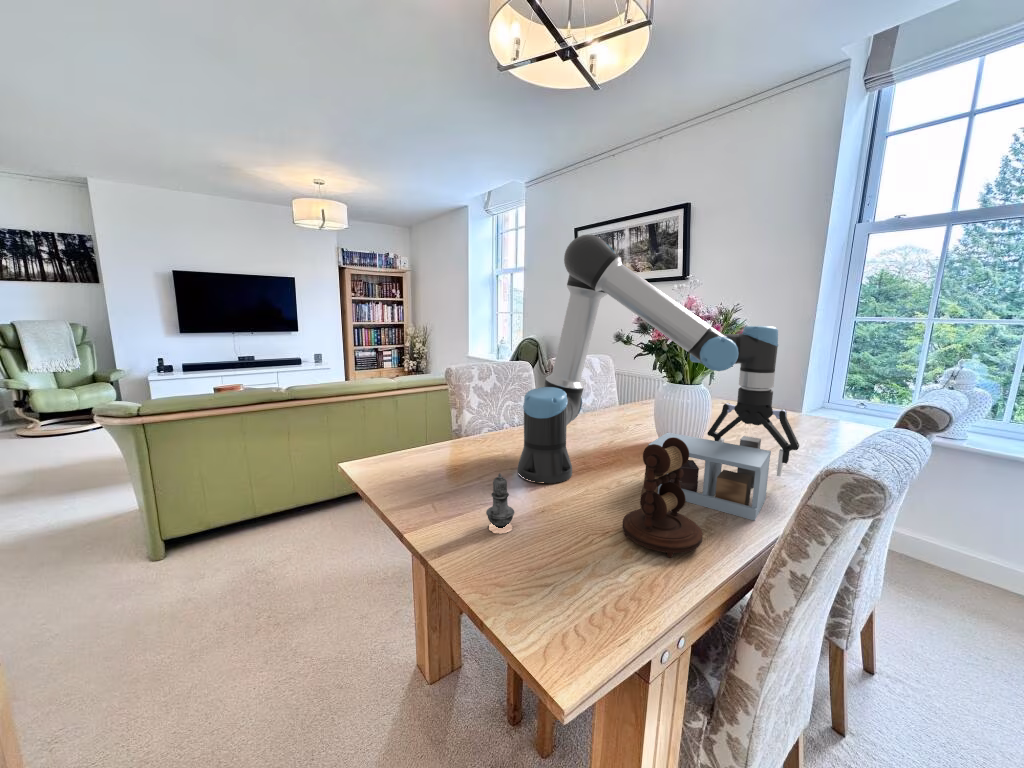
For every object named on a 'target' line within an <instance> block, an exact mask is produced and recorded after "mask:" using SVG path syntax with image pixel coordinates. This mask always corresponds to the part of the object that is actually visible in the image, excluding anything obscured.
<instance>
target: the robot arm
mask: <svg viewBox="0 0 1024 768" xmlns="http://www.w3.org/2000/svg"><path fill="white" fill-rule="evenodd" d="M563 262H564V263H563V264H564V267H565V270H566V272H567V273H568V280H567V283H566V288H567V289H568V291H569V293H570V294H569V299H568V303H567V307H566V311H565V316H564V321H563V324H562V329H561V332H560V338H559V342H558V347H557V351H556V354H555V359H554V363H553V369H552V372H551V374H549V375H547V376H546V377H545V381H544V385H543V386H541V387H538V388H532V389H530V390H529V391H527V392H526V394H524V398H523V405H522V408H523V448H522V451H521V455H520V457H519V461H518V463H517V474H518V473H519V474H520V475H521V476H522V477H524V478H525V479H528V480H531V481H535V482H544V483H554V484H557V483H556V482H560V483H563V482H566V481H568V480H570V478H572V476H573V465H572V462H571V459H570V455H569V453H568V449H567V428H568V427H567V426H568V425H569V424H570V423H572V421H574V420H575V419H576V418H577V417H578V416H579V414H580V412H581V409H582V407H583V398H582V396H583V392H584V390H585V389H584V388H585V386H584V384H583V382H582V380H581V378H582V374H583V371H584V367H585V363H586V358H587V355H588V350H589V348H590V347H589V346H590V341H591V339H592V334H593V331H594V326H595V321H596V317H597V314H598V311H599V306H600V301H601V300H602V299H603V298H604V297H606V296H607V295H609V296H610V297H611V298H612V299H614V300H615V301H616V302H618V303H620V304H621V305H622V306H623V307H625V308H626V309H627V310H629V311H630V312H631V313H634V314H635V315H636V316H637V317H638V318H640V319H642V321H645V323H647V324H649V325H650V326H651V327H653V328H655V330H657V331H658V332H660V333H661V334H663V336H666V337H667V338H668V339H669V340H670V341H672V342H674V343H675V344H677V345H678V347H681V348H682V349H683V350H685V351H686V352H687V353H689V360H690V361H691V362H692V363H700V364H702V365H703V366H704V367H705V368H707V369H708V370H710V371H715V372H723V371H726V370H728V369H731V368H733V366H734V365H735V364H737V365H738V364H739V365H740V367H739V377H738V378H739V379H738V385H739V386H740V387H739V388H738V390H737V402H736V405H735V404H731V403H730V402H726V403H724V404H723V405H722V409H721V413H720V414H719V416H717V418H716V420H715V421H714V422H713V424H712V425H711V427H710V428H709V430H708V431H707V433H706V434H707V435H708V436H709V437H712V438H713V439H714V441H718V442H724V443H725V437H723V436H725V434H728V432H729V431H730V430H732V429H733V428H735V426H737V425H738V424H739V423H740V422H741V423H742V422H743V423H744V424H746V425H754V426H761V425H762V426H763V427H764V429H766V430H767V432H768V433H769V434H770V436H771V437H772V438H773V439H774V441H776V443H777V444H778V446H780V449H779V450H778V452H779V453H778V459H777V461H778V462H777V469H776V476H777V477H781V476H782V473H783V466H784V465H783V464H788V462H789V458H790V452H791V451H797V450H799V448H800V444H799V441H798V439H797V437H796V435H795V432H794V431H793V427H791V424H790V423H789V420H788V415H787V412H788V411H787V410H786V409H784V408H783V409H774V408H773V399H774V398H773V397H774V391H773V390H772V389H773V388H774V386H775V375H776V367H777V366H776V365H777V354H778V347H779V329H778V328H777V327H775V326H772V325H746V326H744V327H743V331H742V333H736V334H734V333H722V332H721V331H719V330H717V329H715V328H714V327H712V326H711V325H710V324H709V323H707V322H706V321H704V320H703V319H701V318H700V317H699V316H697V315H695V314H694V313H693V312H692V311H690V310H689V309H687V308H686V307H684V306H683V305H682V304H681V303H678V302H677V301H676V300H674V299H673V298H672V297H670V296H668V295H667V294H666V293H664V292H663V291H661V290H660V289H658V288H657V287H656V286H654V285H653V284H651V283H650V282H648V281H647V280H646V279H645V278H642V277H641V276H640V275H639V274H637V273H636V272H634V271H633V270H631V269H630V268H629V267H627V266H626V265H624V264H623V262H622V257H621V256H619V255H618V254H617V253H616V251H614V249H613V247H611V246H610V245H609V244H608V243H606V242H605V241H604V240H603V239H602V238H601V237H598V236H596V235H593V234H583V235H581V236H578V237H576V238H574V239H573V240H572V241H571V242H569V244H568V246H566V249H565V253H564V257H563ZM732 411H735V413H736V414H737V417H736V418H735V419H733V420H731V422H730V423H728V424H727V425H726V426H725V427H723V429H721V430H719V432H717V430H718V428H719V427H720V426H721V424H722V423H723V421H724V420H725V418H726V417H727V415H728V414H729V413H731V412H732ZM772 416H775V418H776V419H777V420H779V422H780V425H781V428H782V429H783V432H784V433H785V436H786V438H787V440H788V441H787V440H786V439H785V438H784V436H783V435H782V434H781V432H779V430H778V429H777V428H776V427H775V425H774V424H773V422H772V420H770V418H771V417H772ZM788 442H789V443H788ZM567 479H568V480H567ZM565 480H566V481H565ZM562 481H563V482H562Z"/></svg>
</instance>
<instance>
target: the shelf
mask: <svg viewBox="0 0 1024 768" xmlns="http://www.w3.org/2000/svg"><path fill="white" fill-rule="evenodd" d="M673 437H674V438H678V439H680V440H682V441H683V442H684V443H685V444H686V445H687V447H688V450H689V458H692V459H695V460H702V461H704V471H703V484H702V486H703V487H702V493H700V492H698V491H697V492H693V491H689V490H685V489H682V488H681V489H682V490H683V492H684V494H685V498H686V502H687V503H690V504H694V505H697V506H700V507H704V508H707V509H708V508H709V509H712V510H715V511H719V512H723V513H726V514H730V515H733V516H737V517H740V518H744V519H747V520H751V521H755V522H756V520H757V518H758V516H759V513H760V512H761V509H762V507H763V505H764V504H765V502H766V499H767V497H766V496H767V488H768V479H769V472H770V471H769V470H770V462H771V454H772V451H771V450H768V449H762V448H760V449H757V448H752V447H746V446H741V445H740V444H735V443H734V444H733V443H730V442H725V441H724V442H718V441H715V440H713V439H707V438H701V437H694V436H691V435H684V434H680V433H679V434H678V433H672V432H666V433H664V434H663V435H661V436H660V437H658V438H657V439H655V440H653V441H651V442H650V443H648V445H647V446H649V445H652V444H656V445H660V446H661V447H662V446H663V443H664V442H665V440H667V439H668V438H673ZM723 465H724V466H730V467H733V468H734V467H735V468H737V469H738V468H743V469H748V470H753V471H755V479H754V488H752V489H753V492H752V500H751V506H750V505H749V506H747V505H743V504H739V503H735V502H731V501H728V500H724V499H720V498H716V497H715V495H716V483H717V477H718V475H719V474H720V473H721V472H722V466H723ZM661 485H662V484H660V485H659V486H658V494H659V489H660V487H661ZM686 502H685V503H686Z"/></svg>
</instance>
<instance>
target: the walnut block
mask: <svg viewBox="0 0 1024 768" xmlns="http://www.w3.org/2000/svg"><path fill="white" fill-rule="evenodd" d="M761 442H762V438H758V437H753V436H746V435H743V436H742V437H741V438H740V440H739V445H741V446H746V447H752V448H757V449H761V444H762V443H761ZM754 479H755V471H753V470H748V469H743V468H738V467H737V470H736V471H732V470H728V469H723V470H721V473H720V474H719V475H718V477H717V483H716V494H715V495H714V497H716V498H720V499H724V500H728V501H731V502H735V503H739V504H743V505H747V506H750V500H751V491H752V489H754Z"/></svg>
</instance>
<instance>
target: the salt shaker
mask: <svg viewBox="0 0 1024 768" xmlns="http://www.w3.org/2000/svg"><path fill="white" fill-rule="evenodd" d="M509 496H510V494H509V492H508V480H507V478H505V477H503V476H502V474H501V473H498V476H497V477H495V478H494V479H493V481H492V493H491V497H492V506H491V507H488V509H487V510H486V512H485V514H486V516H487V519H488V521H489V523H490V524H491V523H492V524H493V525H495V526H496V527H498V528H503V527H505V526H506V525H507V524H509V523H511V522H512V520H513V517H514V515H515V509H514V508H513V507H511V506H509V504H508V498H509Z"/></svg>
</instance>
